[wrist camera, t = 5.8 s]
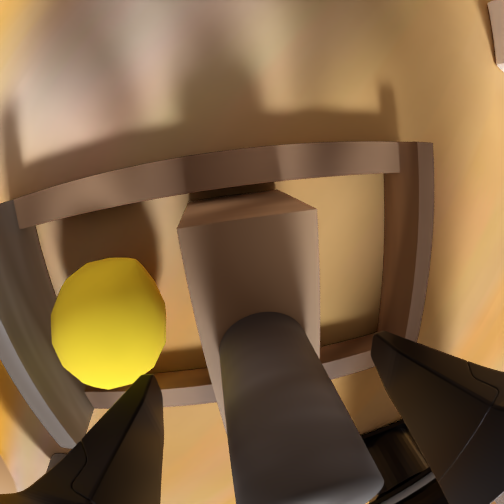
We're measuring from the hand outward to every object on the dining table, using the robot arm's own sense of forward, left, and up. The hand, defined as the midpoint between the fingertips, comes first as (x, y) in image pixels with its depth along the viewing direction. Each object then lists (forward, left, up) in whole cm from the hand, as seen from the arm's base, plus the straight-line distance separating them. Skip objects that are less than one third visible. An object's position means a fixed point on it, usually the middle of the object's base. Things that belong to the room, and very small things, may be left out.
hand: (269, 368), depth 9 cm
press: (+2, 0, -6) cm, 7 cm away
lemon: (+7, 0, -7) cm, 9 cm away
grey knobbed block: (0, 0, -6) cm, 6 cm away
